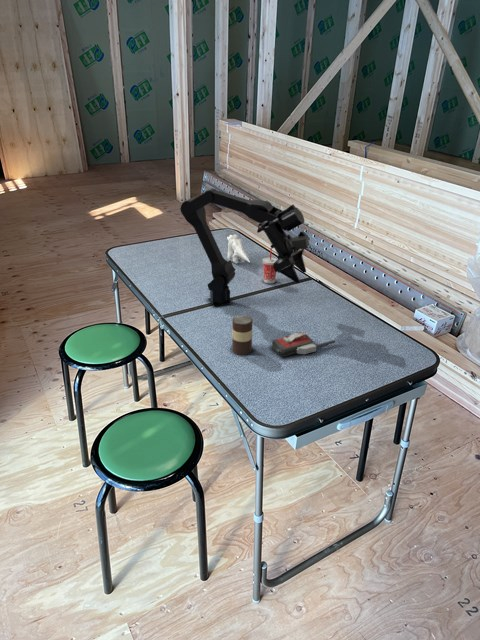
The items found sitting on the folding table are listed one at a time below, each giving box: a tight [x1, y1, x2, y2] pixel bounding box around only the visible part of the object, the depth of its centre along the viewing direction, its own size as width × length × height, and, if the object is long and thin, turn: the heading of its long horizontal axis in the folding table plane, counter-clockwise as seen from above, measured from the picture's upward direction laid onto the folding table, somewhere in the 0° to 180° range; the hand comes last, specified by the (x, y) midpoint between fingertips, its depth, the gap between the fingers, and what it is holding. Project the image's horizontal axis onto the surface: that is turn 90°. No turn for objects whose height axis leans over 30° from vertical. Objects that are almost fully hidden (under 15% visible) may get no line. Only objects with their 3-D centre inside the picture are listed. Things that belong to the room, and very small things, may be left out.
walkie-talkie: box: [271, 331, 336, 357], centre depth 151 cm, size 9×4×20 cm
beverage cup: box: [262, 247, 278, 284], centre depth 193 cm, size 6×6×14 cm
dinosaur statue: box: [226, 233, 251, 264], centre depth 212 cm, size 7×24×11 cm, turn 25°
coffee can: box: [231, 314, 254, 356], centre depth 148 cm, size 6×6×11 cm
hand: (301, 277), depth 164 cm, fingers open, 9 cm apart
